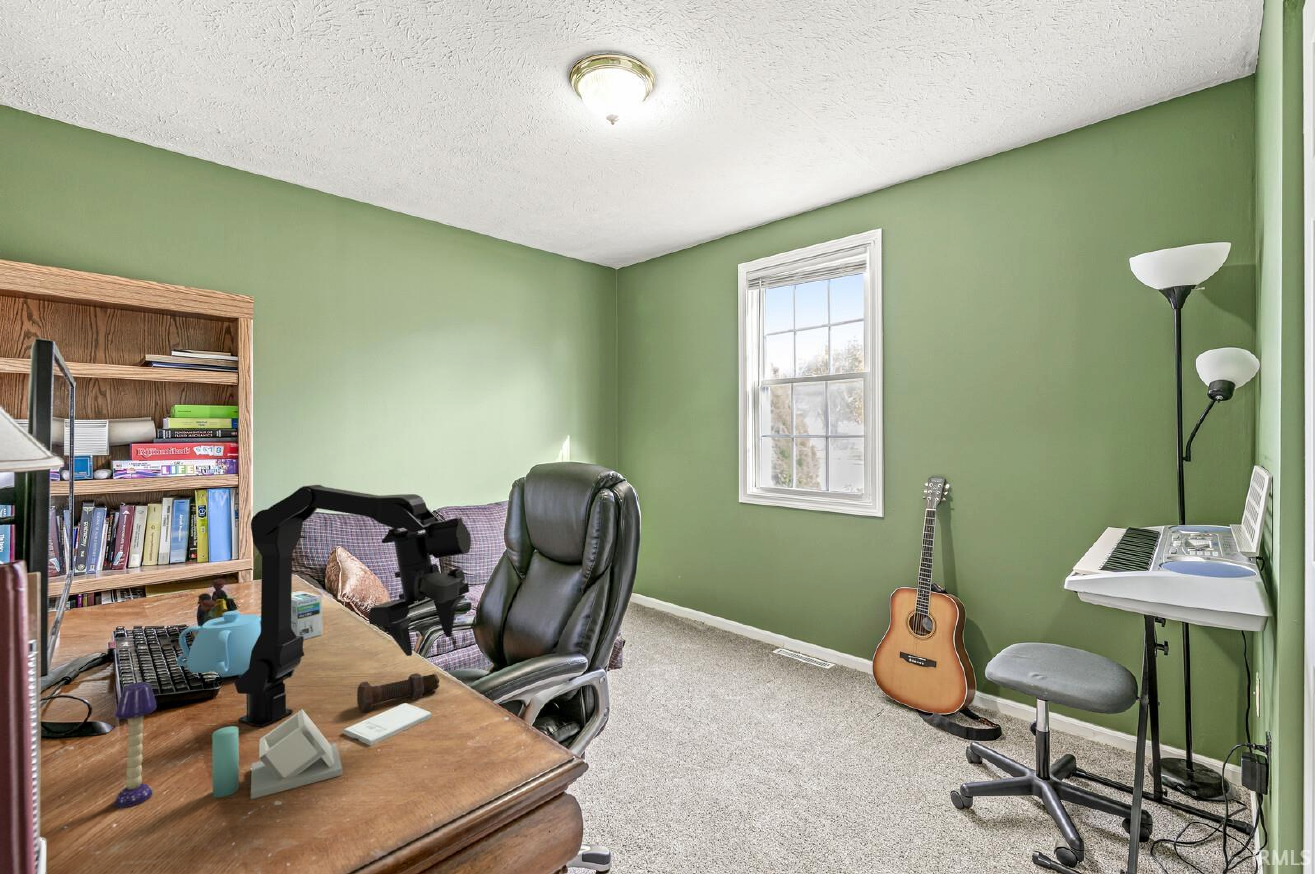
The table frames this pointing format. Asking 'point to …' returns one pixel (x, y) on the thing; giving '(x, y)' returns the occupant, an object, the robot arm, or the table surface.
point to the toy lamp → (135, 740)
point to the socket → (293, 757)
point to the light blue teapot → (221, 644)
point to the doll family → (214, 604)
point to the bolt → (395, 690)
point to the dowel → (225, 761)
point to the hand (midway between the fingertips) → (429, 645)
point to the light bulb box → (306, 614)
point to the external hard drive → (387, 724)
